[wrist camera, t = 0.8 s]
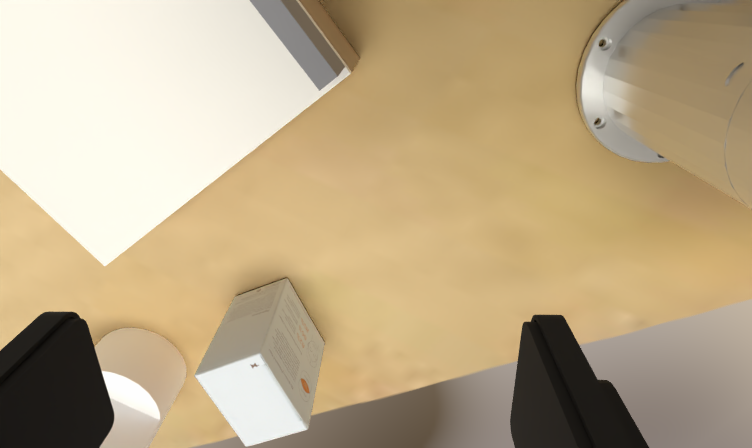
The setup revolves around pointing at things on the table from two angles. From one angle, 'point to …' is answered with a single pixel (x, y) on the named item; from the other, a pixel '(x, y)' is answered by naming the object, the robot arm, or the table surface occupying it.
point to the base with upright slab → (139, 383)
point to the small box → (264, 364)
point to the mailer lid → (146, 102)
